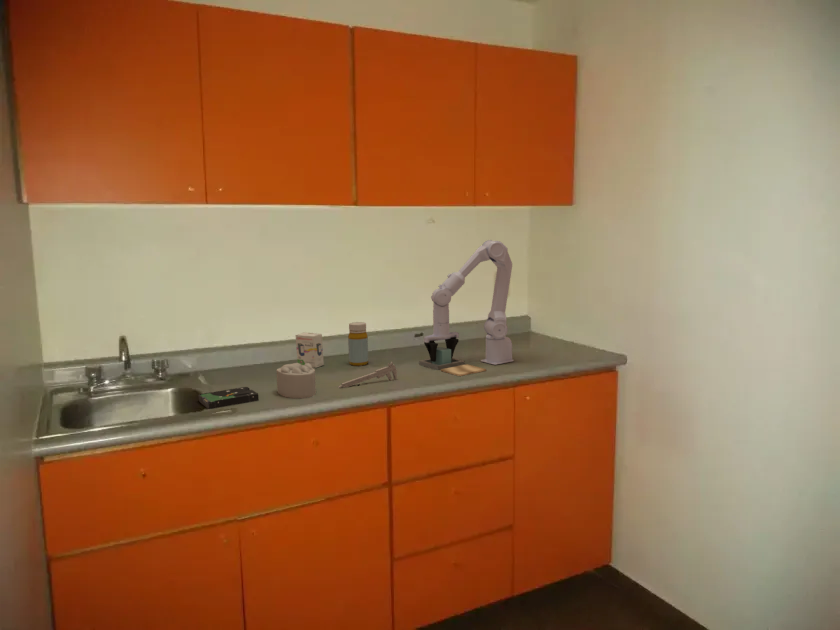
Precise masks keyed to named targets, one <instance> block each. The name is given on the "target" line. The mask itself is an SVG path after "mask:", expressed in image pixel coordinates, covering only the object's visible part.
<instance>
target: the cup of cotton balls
mask: <svg viewBox="0 0 840 630" xmlns="http://www.w3.org/2000/svg"><path fill="white" fill-rule="evenodd" d="M276 385H277V386H276V387H277V388H276V390H277V394H279V395H280V396H283V397H284V398H289V399H290V398H291V399H306V397H307V398H311V397H313V396H315V395H316V393H317V388H316V385H317V384H316V370H315V368H313V367H312V366H311V364H309V363H306V364H305V365H301V364H299V363H297V362H294V363H287V364H283V365H282V366H281V367H278V368H277V369H276ZM310 396H311V397H310Z"/></svg>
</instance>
